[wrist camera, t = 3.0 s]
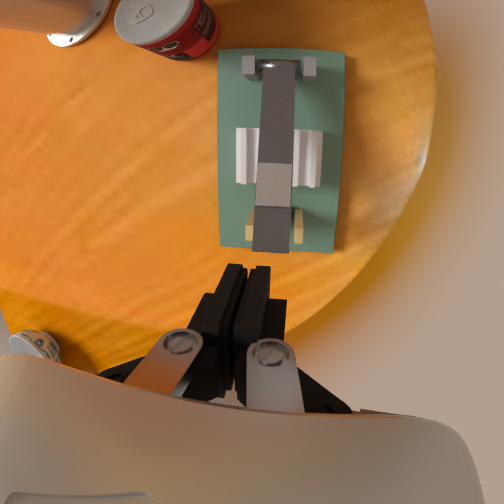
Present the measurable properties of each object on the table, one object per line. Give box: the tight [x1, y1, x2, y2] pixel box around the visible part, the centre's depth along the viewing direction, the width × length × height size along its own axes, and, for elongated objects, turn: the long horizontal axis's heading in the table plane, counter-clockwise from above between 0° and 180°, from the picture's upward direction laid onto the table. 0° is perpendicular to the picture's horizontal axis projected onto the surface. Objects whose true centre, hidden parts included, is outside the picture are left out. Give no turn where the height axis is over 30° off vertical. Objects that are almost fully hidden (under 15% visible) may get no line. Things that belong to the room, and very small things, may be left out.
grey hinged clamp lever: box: [252, 59, 300, 254], centre depth 25 cm, size 19×4×2 cm, turn 1°
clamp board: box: [217, 48, 345, 253], centre depth 30 cm, size 24×14×8 cm, turn 179°
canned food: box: [114, 0, 219, 61], centre depth 23 cm, size 8×8×11 cm
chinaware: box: [9, 330, 61, 364], centre depth 52 cm, size 15×15×8 cm
